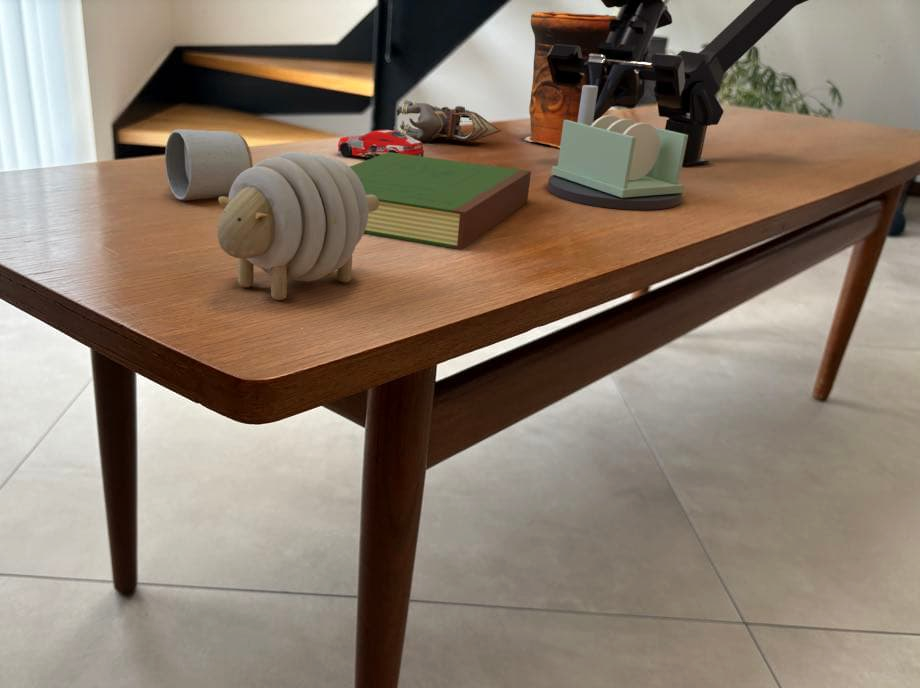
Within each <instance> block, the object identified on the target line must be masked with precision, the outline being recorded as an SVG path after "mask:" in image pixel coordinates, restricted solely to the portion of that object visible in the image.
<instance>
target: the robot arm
mask: <svg viewBox="0 0 920 688" xmlns="http://www.w3.org/2000/svg"><path fill="white" fill-rule="evenodd" d="M600 1H601V3H602V4H603V5H604V6H605V8H609V9H611V8H614V7H616V8H620V10H619V12H618V14H617V15H616V16H617V18H616V20H614V19H612V20H611V22H610V24H609V27H610V33H609V35H608V38H607V40H606V42H605V43H603V42H601V44H600V46H599V54H589V56H588V57H589V59H583V58H582V54H581V49H580V46H571V45H560V44H555V45H553V47H552V48H551V49H550V51H549V53H548V55H547V61H548V65H549V69H550V73H551V77H552V81H553V83H555V84H556V85H559V86H568V87H575V86H577V85H579V84H580V83H581V81H582V79H583V75H584V76H585V81H586V85H592V86H598V92H597V99H596V105H595V112H594V118H593V121H596V120H597V119H599V118H600V117H602V116H604V115H605V114H606V113H607V112H608V111H609V110H610V109H612V108H615V107H620V108H626V109H629V110H632V109H635V108H636V107H637V105H638V104H639V102H640V101H641V99H642V98H643V97H644V95H645V85H646V84H645V83H646V82H645V81H654V82H655V86H654V88H653V92H654V97H655V100H656V103H657V113H658V117H660V118H666V120H665V121H666V122H665V127H664V130H669V131H673V132H677V133H682V134H686V135H688V139H687V144H686V149H685V154H684V159H683V164H682V167H683V166H685V167H687V166H694V165H695V166H696V165H702V164H709V162H710V159H708V158H703V157H702V154H703V149H704V144H705V140H706V134H707V129H708V127H709V126H717V125H718V124H719V122H720V121H721V119H722V117H723V114H724V109H723V107H722V106H721V104H720V102H719V101H718V99H717V97H716V95H717V94H718V92H719V91H720V89H721V86H722V83H723V79H724V76H725V74H726V73H727V72H728V71H729V70H730V69H731V68H732V67H733V66H734V65H735V64H736V63H737V62H738V61H739V60H740V59H741V58H742V57H744V55H745V54H747V53H748V51H749V50H751V49H752V48H753V47H754V46H755V45H756V44H757V43H759V41H760V40H761V39H763V37H764V36H766V34H767V33H769V32H770V31H771V30H772V29H773V28H774V27H775V26H776V25H777V24H778V23H779V22H780V21H781V20H783V18H784V17H785V16H787V15H788V13H790V12H791V11H792V10H793V9H794V8H795V7H797V6H799V5H801V4H803V3H806V2H809V0H753V1H752V2H751V3H750V4H749V5H748V6H747V7H746V8H745V9H744V10H743V11H742V12H741V13H740V14H739V15H737V16H736V17H735V19H733V20H732V21H731V22H730V23H729V24H728V25H727V26H726V27H724V29H723V30H722V31H721V32H720V33H718V34H717V36H716V37H715V38H713V39H712V40H711V41H710V42H709V43H708V44H707V45H706V46H705V47H704V48H703V49H702V50H700V51H698V52H695V51H687V50H681V51H679V53H677V54H667V53H666V54H665V53H653V54H652V56H651V58H650V62H647V60H648V55H649V53H650V49H649V45H650V43H651V41H652V38H653V37H654V34H655V31H656V30H657V29H661V28H664V27H666V26H669V25H672V24H673V17H672V14H671V13H670V12H669V9H668V6H667V5H666V4H665V2H664V1H663V0H600Z"/></svg>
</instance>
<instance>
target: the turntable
mask: <svg viewBox="0 0 920 688" xmlns="http://www.w3.org/2000/svg"><path fill="white" fill-rule="evenodd" d="M547 180H548V181H547V191H548V192H549V193H551V194H552V195H554V196H556V197H558V198H560V199H562V200H563V199H564V200H566V201H569V202H572V203H576V204H582V205H585V206H592V207H599V208H606V209H613V210H626V211H627V210H628V211H656V210H657V211H658V210H664V209H665V210H666V209H670V208H675V207H676V206H678V205H680V204H681V202H682V198H683V193H675V194H663V195H650V196H638V197H626V198H621V197H618V196H615V195H612V194H609V193H606V192H603V191H600V190H597V189H594V188H591V187H588V186H585V185H582V184H579V183H576V182H574V181H571V180H568V179H565V178H562V177H559V176H556V175H553V174H551V175H550V176H549V177H548V179H547Z"/></svg>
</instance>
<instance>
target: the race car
mask: <svg viewBox="0 0 920 688" xmlns="http://www.w3.org/2000/svg"><path fill="white" fill-rule="evenodd" d="M337 147H338V148H337V151H338V152H339V153H340V154H341V155H342V157H345V158H348V157H351V156H356V157H364V158H369V159H372V158H374V157H377V156H380V155H382V154H385V153H388V152H392V153H400V154H407V155H415V156H422V157H424V153H425V150H424V146H423V142H420V141H418V140H415V139H413V138H412V137H410V136H409V135H406V134H403V133H401V132H397V131H394V130H392V129H391V130H390V129H376V130H373V131H370V132H367V133H365V134H353V135H347V136H343V137H341V138H339V141H338V143H337Z"/></svg>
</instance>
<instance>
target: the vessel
mask: <svg viewBox="0 0 920 688" xmlns="http://www.w3.org/2000/svg"><path fill="white" fill-rule="evenodd" d="M617 16H618V15H610V14H594V13H582V14H581V13H571V12H556V11H542V12H541V11H537V12H533V13H531V15H530V27H531V31H532V33H533V36H534V55H533V73H532V85H531V93H530V100H529V101H530V102H529V106H528V113H529V117H530V134H531V136H529V135H528V136H526V137H525V138H524V141H527V142H531V143H539V144H544V145H548V146H550V147H553V148H558V149H560V144H561V137H562V130H563V122H564V120H569V121H573V122H578V115H579V108H580V101H581V94H582V87H583V85H586V81H585V76H584V75H583V79H582V81H581V83H580V84H579V85H577V86H575V87H568V86H559V85H556V84H555V83H553V81H552V77H551V73H550V69H549V65H548V61H547V55H548V53H549V51H550V49H551V48H552V47H553V45H555V44H560V45H571V46H580V49H581V54H582V58H583V59H589V57H588V56H589V54H599V46H600V44H601V42H603V43H605V42H606V40H607V38H608V35H609V33H610V27H609V24H610V22H611V20H612V19H614V20H616V18H617ZM594 122H595V121H593V123H594Z"/></svg>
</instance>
